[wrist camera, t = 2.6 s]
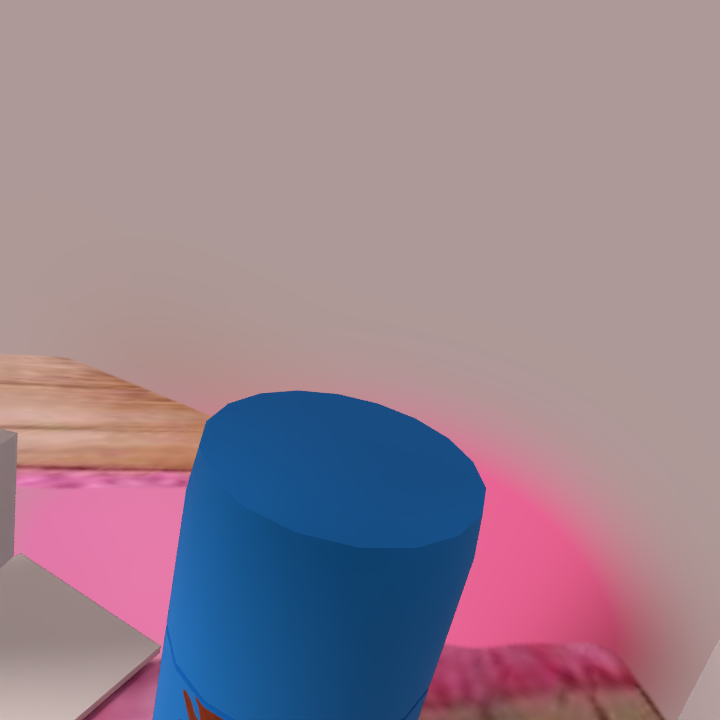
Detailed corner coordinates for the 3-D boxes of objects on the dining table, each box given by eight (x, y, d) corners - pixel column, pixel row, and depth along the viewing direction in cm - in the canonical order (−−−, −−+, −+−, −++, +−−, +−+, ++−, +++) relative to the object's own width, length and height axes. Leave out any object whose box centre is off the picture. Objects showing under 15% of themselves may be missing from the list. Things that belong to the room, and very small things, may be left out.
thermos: (241, 742, 38) (322, 370, 30) (385, 874, 33) (532, 473, 25) (77, 896, 30) (125, 432, 21) (240, 1107, 25) (390, 611, 16)
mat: (-162, 659, 38) (-163, 651, 37) (20, 559, 48) (20, 553, 48) (-7, 797, 33) (-7, 789, 33) (159, 652, 43) (160, 645, 43)
